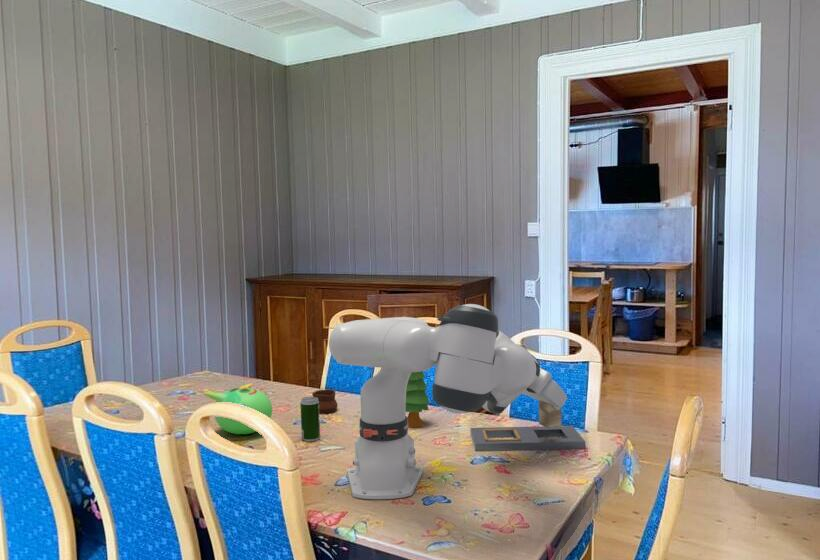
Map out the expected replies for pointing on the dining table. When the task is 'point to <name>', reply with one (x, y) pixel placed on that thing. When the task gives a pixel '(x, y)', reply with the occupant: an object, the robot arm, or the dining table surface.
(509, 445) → the grey flat plate
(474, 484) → the dining table surface
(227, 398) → the green teapot
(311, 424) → the beer can
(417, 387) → the decorative tree
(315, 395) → the ceramic pot
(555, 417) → the wooden peg
